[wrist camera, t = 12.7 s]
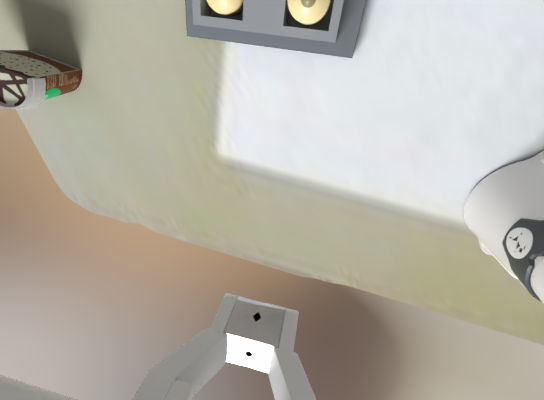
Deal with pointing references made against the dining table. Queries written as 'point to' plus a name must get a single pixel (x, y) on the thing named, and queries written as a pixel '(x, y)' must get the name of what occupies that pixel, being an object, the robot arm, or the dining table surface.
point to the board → (287, 42)
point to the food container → (33, 78)
